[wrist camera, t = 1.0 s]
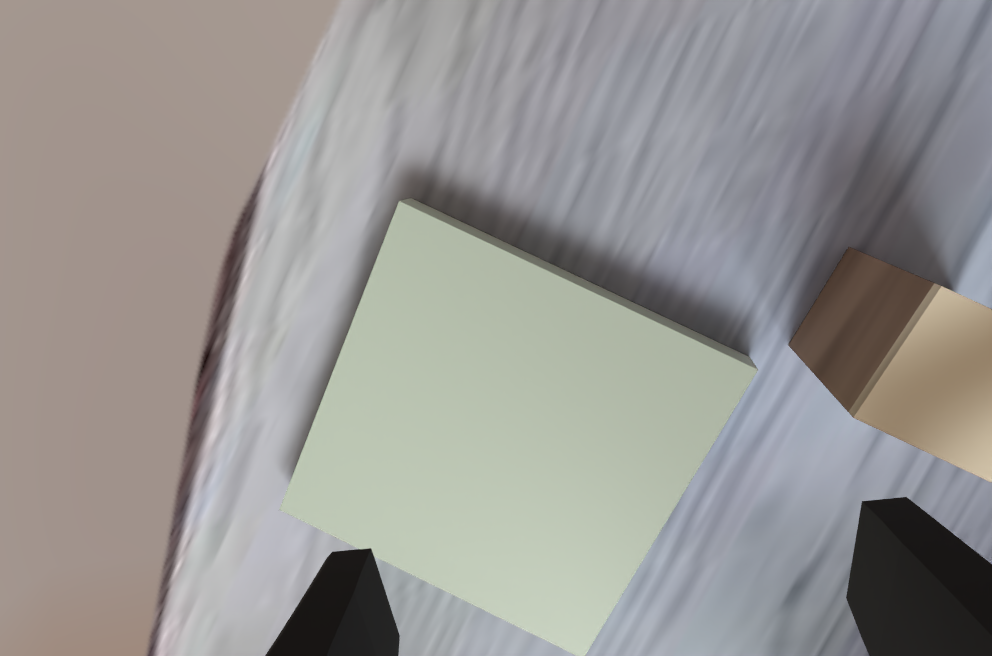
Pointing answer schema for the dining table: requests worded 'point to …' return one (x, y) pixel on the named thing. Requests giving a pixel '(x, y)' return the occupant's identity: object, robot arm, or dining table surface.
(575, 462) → the board
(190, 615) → the dining table surface
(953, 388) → the block
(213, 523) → the dining table surface
